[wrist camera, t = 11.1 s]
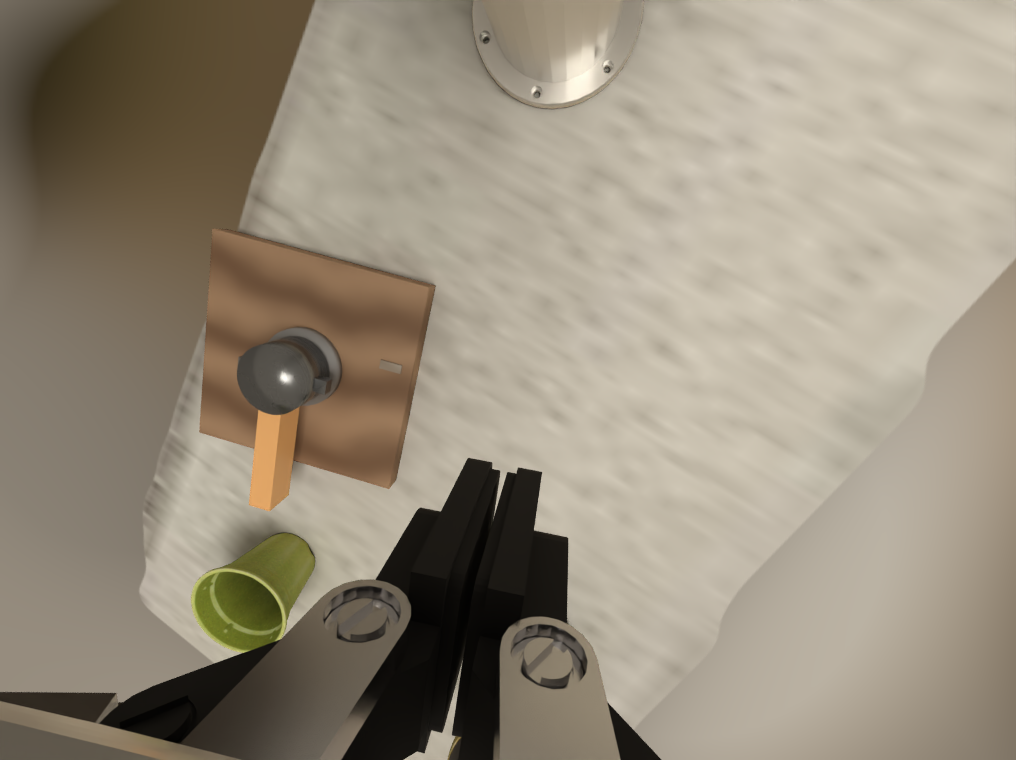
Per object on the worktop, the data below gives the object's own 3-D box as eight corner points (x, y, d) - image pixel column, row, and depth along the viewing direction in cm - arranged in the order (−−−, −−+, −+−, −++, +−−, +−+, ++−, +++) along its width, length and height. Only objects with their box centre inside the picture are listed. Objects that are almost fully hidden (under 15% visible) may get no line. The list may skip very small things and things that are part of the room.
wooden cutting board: (228, 229, 44) (204, 228, 41) (435, 285, 43) (425, 288, 40) (213, 425, 50) (191, 435, 47) (396, 479, 49) (385, 493, 46)
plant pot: (259, 505, 52) (199, 553, 43) (339, 538, 52) (294, 594, 43) (243, 572, 55) (183, 630, 46) (319, 603, 54) (273, 668, 46)
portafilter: (344, 348, 42) (321, 359, 38) (321, 499, 47) (299, 522, 43) (259, 325, 43) (228, 332, 39) (244, 477, 47) (215, 497, 43)
